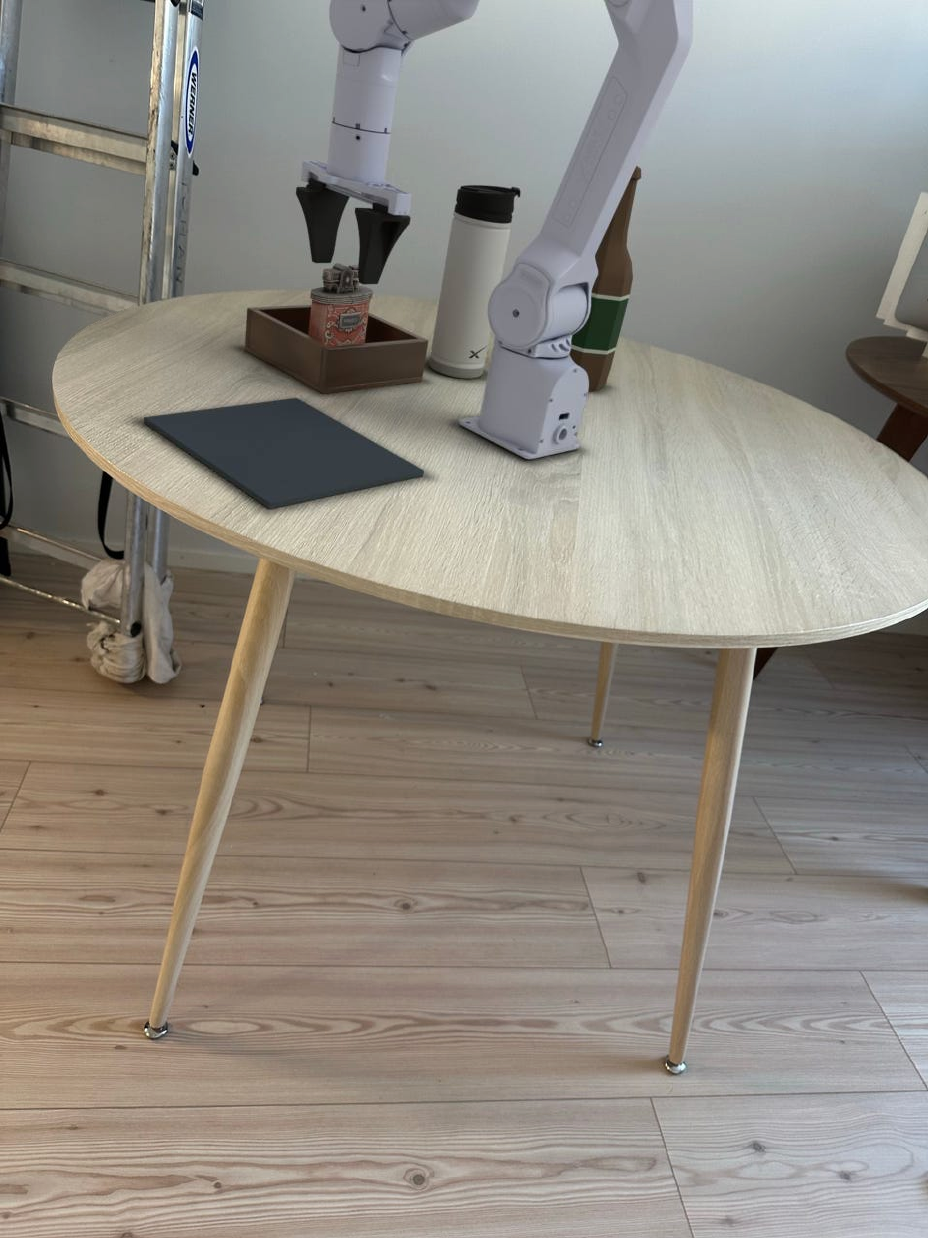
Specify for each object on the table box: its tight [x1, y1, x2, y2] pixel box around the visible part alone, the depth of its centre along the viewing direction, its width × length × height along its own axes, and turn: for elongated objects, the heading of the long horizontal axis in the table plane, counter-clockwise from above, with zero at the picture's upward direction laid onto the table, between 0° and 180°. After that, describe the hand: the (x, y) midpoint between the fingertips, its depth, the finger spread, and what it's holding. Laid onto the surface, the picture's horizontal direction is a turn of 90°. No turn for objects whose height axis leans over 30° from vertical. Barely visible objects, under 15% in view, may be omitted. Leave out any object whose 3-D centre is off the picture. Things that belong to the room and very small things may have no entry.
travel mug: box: [428, 184, 521, 380], centre depth 108 cm, size 6×7×20 cm
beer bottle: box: [569, 165, 642, 392], centre depth 112 cm, size 8×8×24 cm
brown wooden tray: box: [243, 304, 429, 395], centre depth 105 cm, size 14×14×4 cm
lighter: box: [308, 262, 374, 346], centre depth 103 cm, size 8×3×10 cm, turn 143°
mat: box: [143, 397, 425, 510], centre depth 84 cm, size 18×16×1 cm
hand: (344, 272), depth 101 cm, fingers open, 7 cm apart
